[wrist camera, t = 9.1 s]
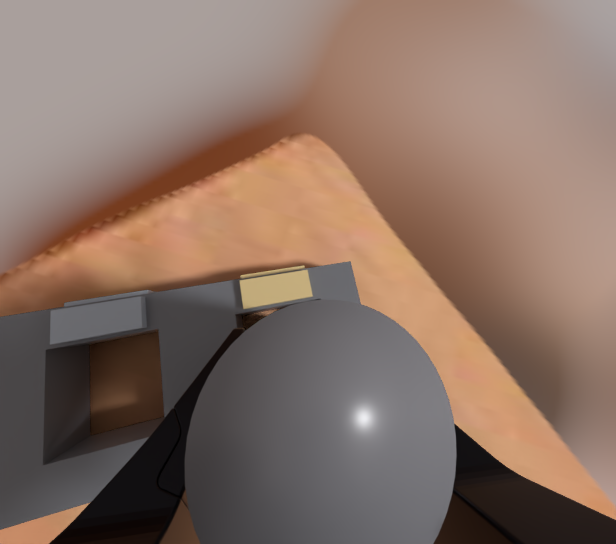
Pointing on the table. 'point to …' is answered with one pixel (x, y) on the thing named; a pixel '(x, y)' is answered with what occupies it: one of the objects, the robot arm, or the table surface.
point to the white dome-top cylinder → (321, 434)
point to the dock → (76, 376)
